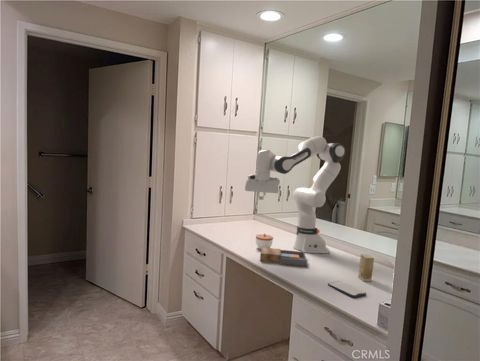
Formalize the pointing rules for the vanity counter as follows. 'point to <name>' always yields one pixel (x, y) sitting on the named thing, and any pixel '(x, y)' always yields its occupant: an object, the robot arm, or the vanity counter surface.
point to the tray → (294, 262)
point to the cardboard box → (270, 255)
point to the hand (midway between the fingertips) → (261, 199)
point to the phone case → (347, 289)
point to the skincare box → (366, 267)
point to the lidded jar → (264, 241)
